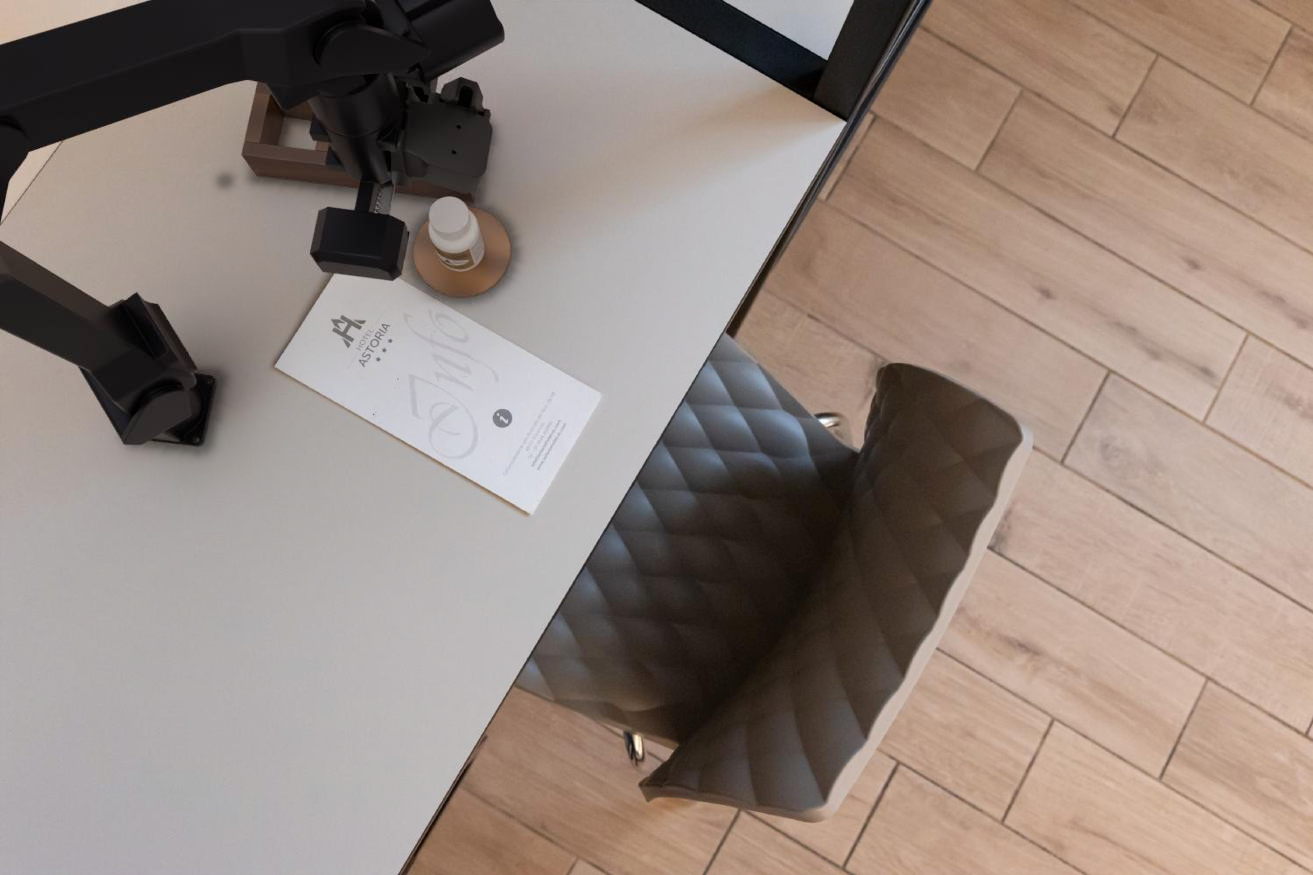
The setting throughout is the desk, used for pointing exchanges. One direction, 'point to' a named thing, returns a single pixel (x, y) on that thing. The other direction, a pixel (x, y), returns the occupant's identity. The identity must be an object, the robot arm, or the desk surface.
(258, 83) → the rack
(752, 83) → the desk surface
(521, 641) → the desk surface
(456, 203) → the pill bottle
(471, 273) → the coaster
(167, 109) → the desk surface
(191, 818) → the desk surface
